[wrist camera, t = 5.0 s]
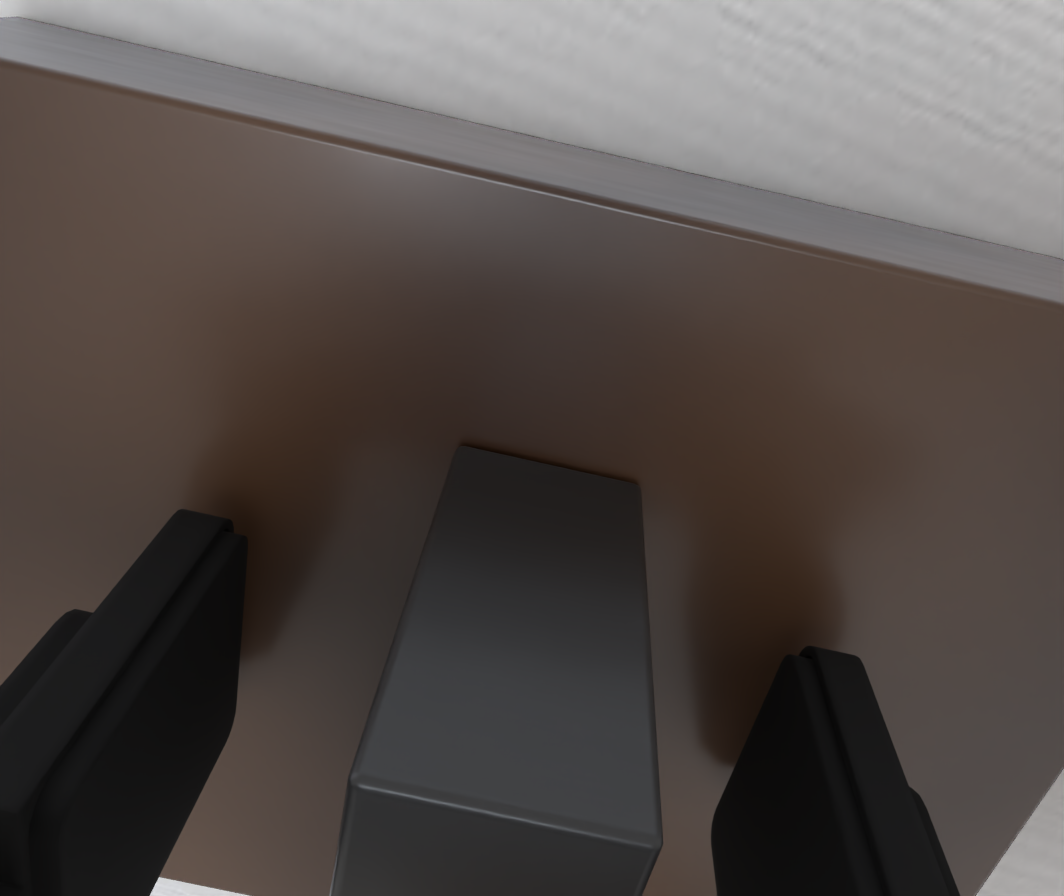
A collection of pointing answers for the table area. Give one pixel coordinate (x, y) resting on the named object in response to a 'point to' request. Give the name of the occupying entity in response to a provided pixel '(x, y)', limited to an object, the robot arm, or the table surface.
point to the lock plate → (518, 426)
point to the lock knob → (513, 699)
